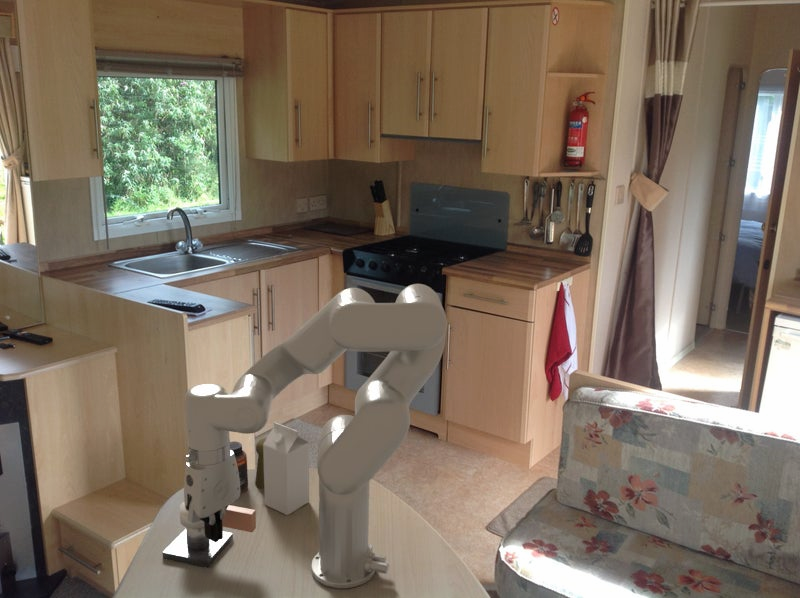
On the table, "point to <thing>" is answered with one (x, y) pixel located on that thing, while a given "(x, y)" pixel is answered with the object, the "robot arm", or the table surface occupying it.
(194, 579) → the table surface
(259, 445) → the olive pear
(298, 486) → the milk carton
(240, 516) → the orange bar with ball
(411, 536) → the table surface
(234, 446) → the supplement bottle
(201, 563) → the coupling base
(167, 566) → the table surface
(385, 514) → the table surface
